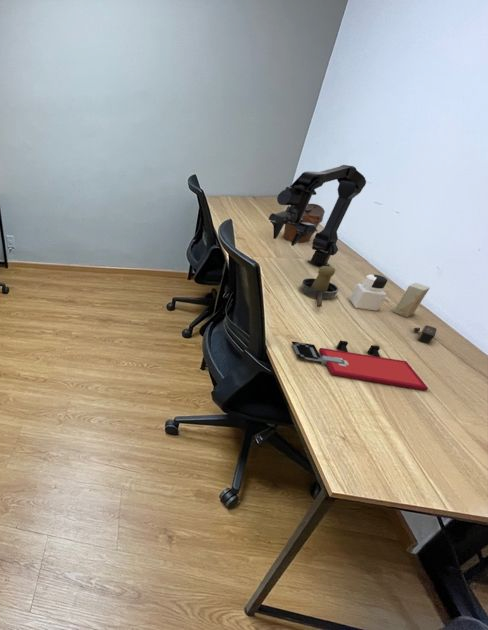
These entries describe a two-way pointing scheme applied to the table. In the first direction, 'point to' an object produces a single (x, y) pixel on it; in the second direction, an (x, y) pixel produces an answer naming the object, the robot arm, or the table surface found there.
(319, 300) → the pan handle
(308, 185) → the robot arm
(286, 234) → the case
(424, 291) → the box
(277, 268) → the table surface
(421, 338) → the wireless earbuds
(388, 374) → the red board with handle
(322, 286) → the cork
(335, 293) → the pan
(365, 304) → the medicine bottle
